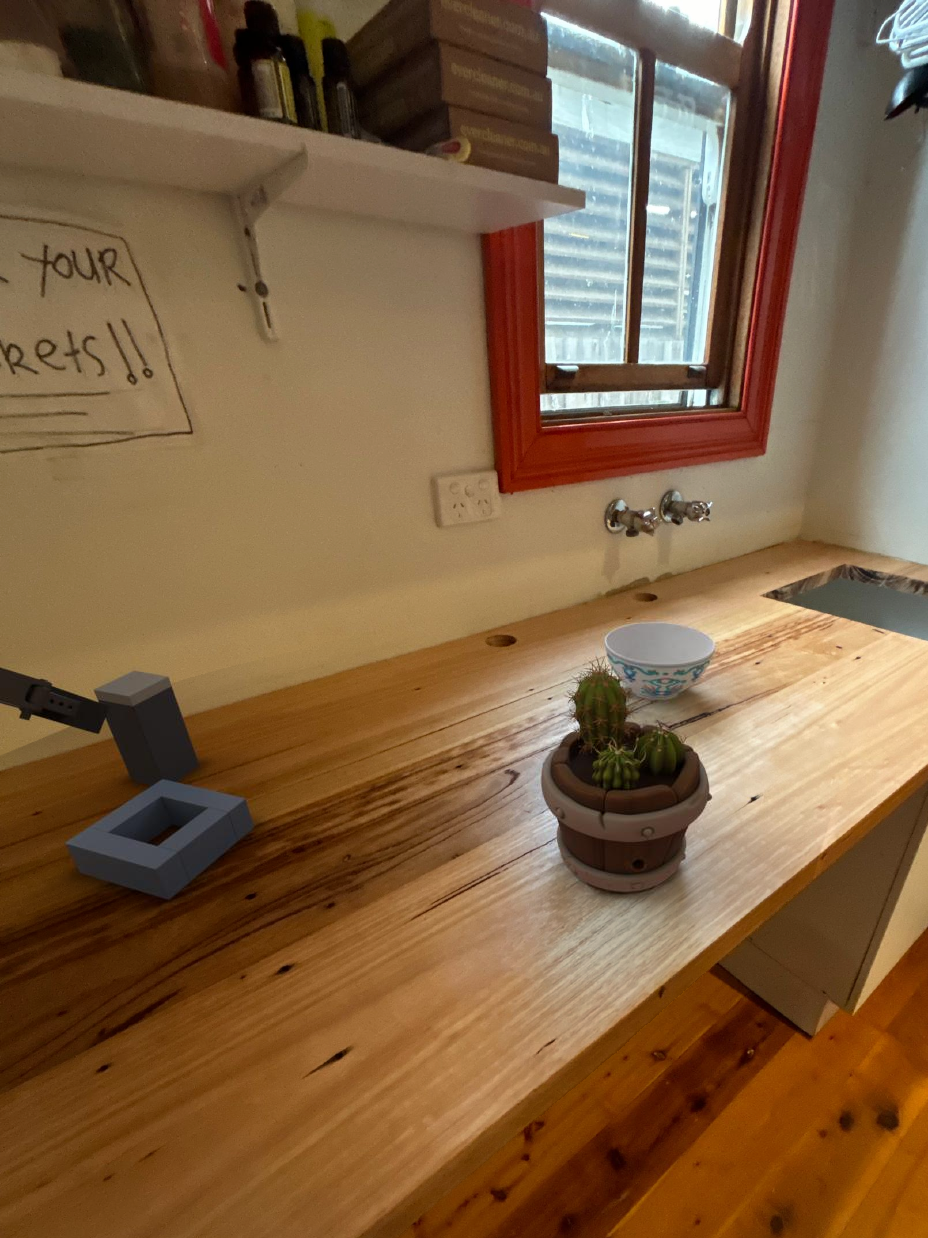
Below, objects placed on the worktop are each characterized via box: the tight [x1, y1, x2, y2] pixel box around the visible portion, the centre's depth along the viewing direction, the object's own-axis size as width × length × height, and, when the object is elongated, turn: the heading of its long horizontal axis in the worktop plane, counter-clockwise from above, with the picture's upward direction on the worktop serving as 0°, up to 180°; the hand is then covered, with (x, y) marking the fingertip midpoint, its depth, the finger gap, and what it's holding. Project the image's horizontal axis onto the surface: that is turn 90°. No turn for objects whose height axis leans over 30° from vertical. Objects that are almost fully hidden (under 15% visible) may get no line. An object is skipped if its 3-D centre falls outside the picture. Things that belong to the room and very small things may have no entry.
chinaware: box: [604, 621, 716, 701], centre depth 90 cm, size 15×15×8 cm
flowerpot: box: [540, 654, 713, 895], centre depth 56 cm, size 14×15×20 cm
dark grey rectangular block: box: [93, 670, 201, 787], centre depth 71 cm, size 5×5×12 cm
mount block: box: [64, 779, 255, 900], centre depth 62 cm, size 11×11×4 cm
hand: (49, 708), depth 60 cm, fingers open, 13 cm apart
